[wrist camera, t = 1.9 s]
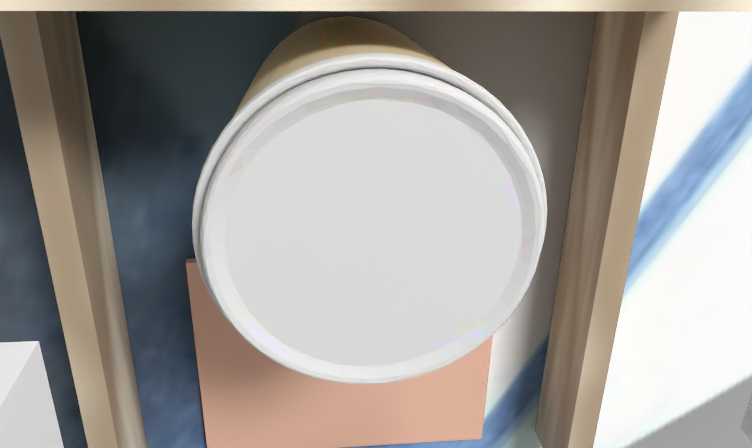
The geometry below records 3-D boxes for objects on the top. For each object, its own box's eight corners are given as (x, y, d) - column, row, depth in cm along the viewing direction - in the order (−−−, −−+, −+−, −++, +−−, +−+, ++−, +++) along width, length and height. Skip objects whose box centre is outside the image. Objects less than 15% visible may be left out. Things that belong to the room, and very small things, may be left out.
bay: (123, 455, 35) (63, 651, 26) (26, -70, 24) (-132, -46, 15) (556, 428, 37) (640, 600, 28) (638, -62, 27) (812, -38, 18)
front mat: (209, 449, 35) (208, 455, 35) (186, 258, 30) (185, 263, 30) (479, 433, 37) (481, 438, 36) (499, 248, 32) (501, 252, 31)
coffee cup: (412, 239, 31) (473, 422, 20) (204, 182, 29) (151, 355, 18) (494, 38, 28) (620, 132, 17) (265, -44, 26) (243, 5, 15)
